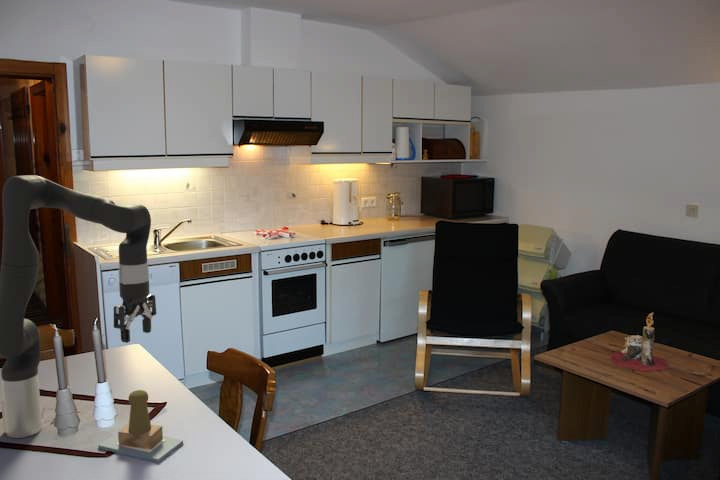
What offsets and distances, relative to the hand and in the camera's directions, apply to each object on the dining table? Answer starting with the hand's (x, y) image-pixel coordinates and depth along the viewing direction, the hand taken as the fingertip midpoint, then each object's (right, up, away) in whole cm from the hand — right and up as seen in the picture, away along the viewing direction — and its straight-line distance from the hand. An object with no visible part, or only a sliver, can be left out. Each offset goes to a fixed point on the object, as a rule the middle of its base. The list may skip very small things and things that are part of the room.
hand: (136, 337), depth 169 cm
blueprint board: (-1, -32, +6) cm, 32 cm away
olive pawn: (-1, -27, +5) cm, 27 cm away
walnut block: (-1, -30, +6) cm, 31 cm away
